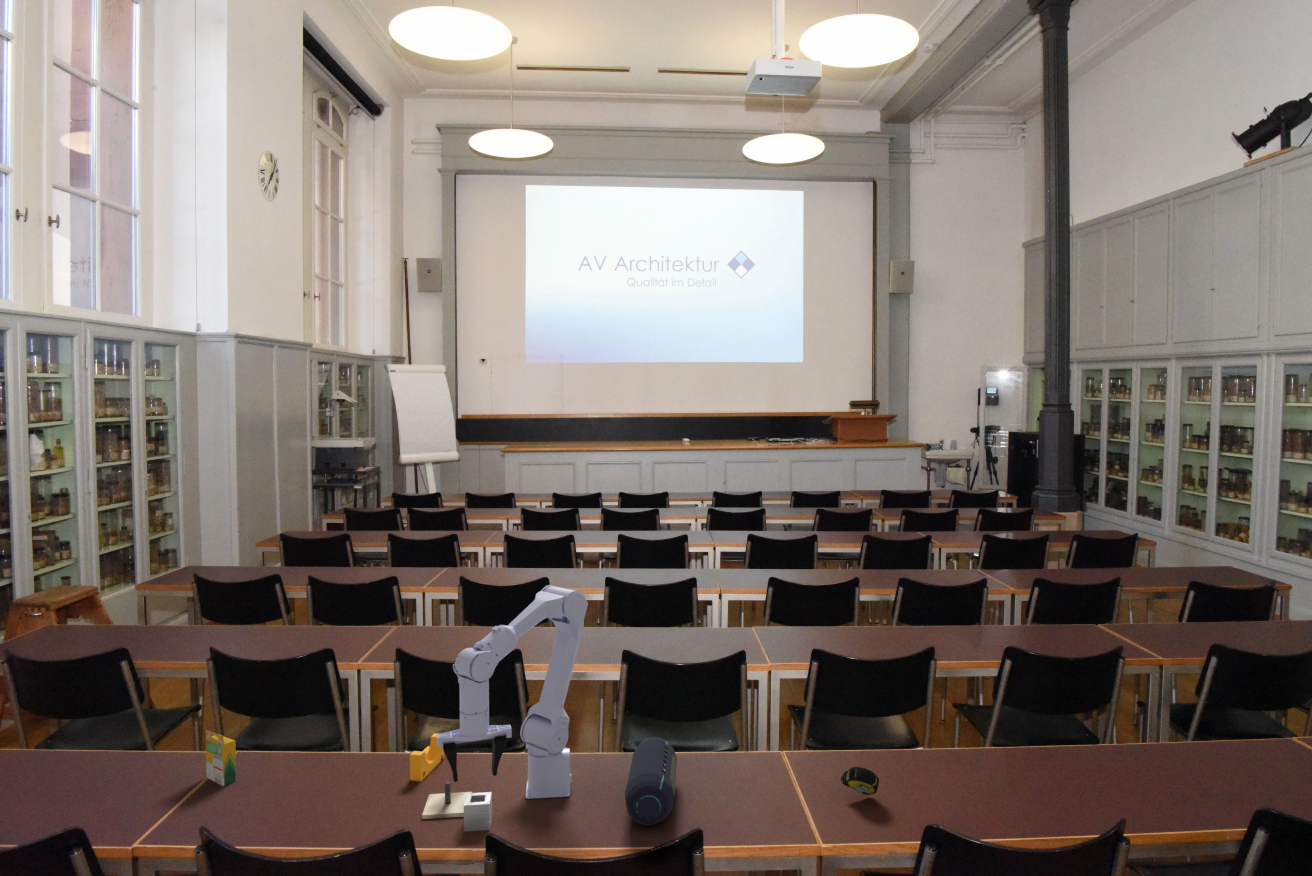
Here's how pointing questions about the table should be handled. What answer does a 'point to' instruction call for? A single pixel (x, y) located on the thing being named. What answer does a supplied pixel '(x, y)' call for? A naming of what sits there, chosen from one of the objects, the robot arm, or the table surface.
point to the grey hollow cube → (477, 811)
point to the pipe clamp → (425, 760)
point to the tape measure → (861, 780)
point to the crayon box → (220, 758)
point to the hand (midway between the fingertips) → (474, 776)
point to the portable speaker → (651, 781)
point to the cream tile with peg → (445, 804)
